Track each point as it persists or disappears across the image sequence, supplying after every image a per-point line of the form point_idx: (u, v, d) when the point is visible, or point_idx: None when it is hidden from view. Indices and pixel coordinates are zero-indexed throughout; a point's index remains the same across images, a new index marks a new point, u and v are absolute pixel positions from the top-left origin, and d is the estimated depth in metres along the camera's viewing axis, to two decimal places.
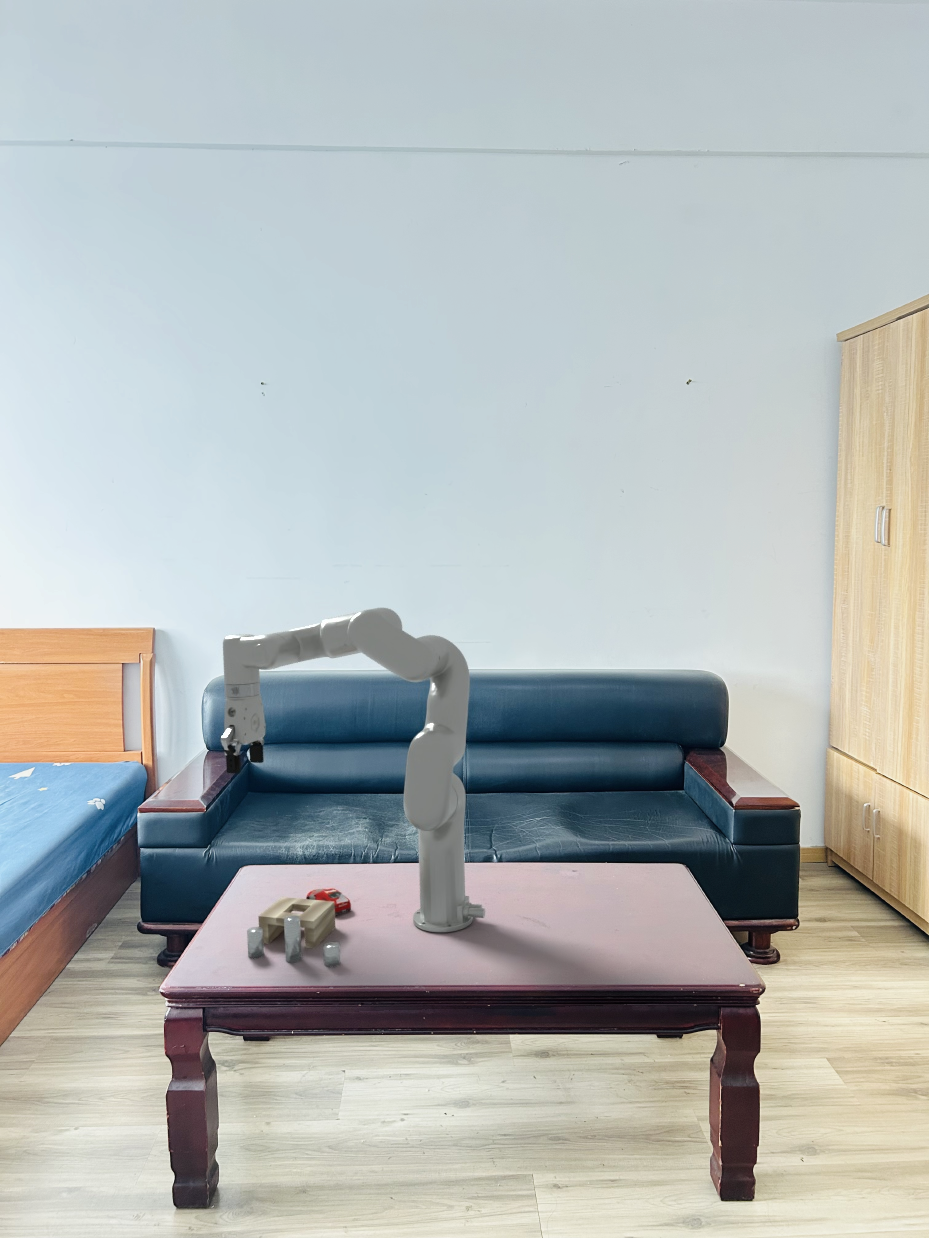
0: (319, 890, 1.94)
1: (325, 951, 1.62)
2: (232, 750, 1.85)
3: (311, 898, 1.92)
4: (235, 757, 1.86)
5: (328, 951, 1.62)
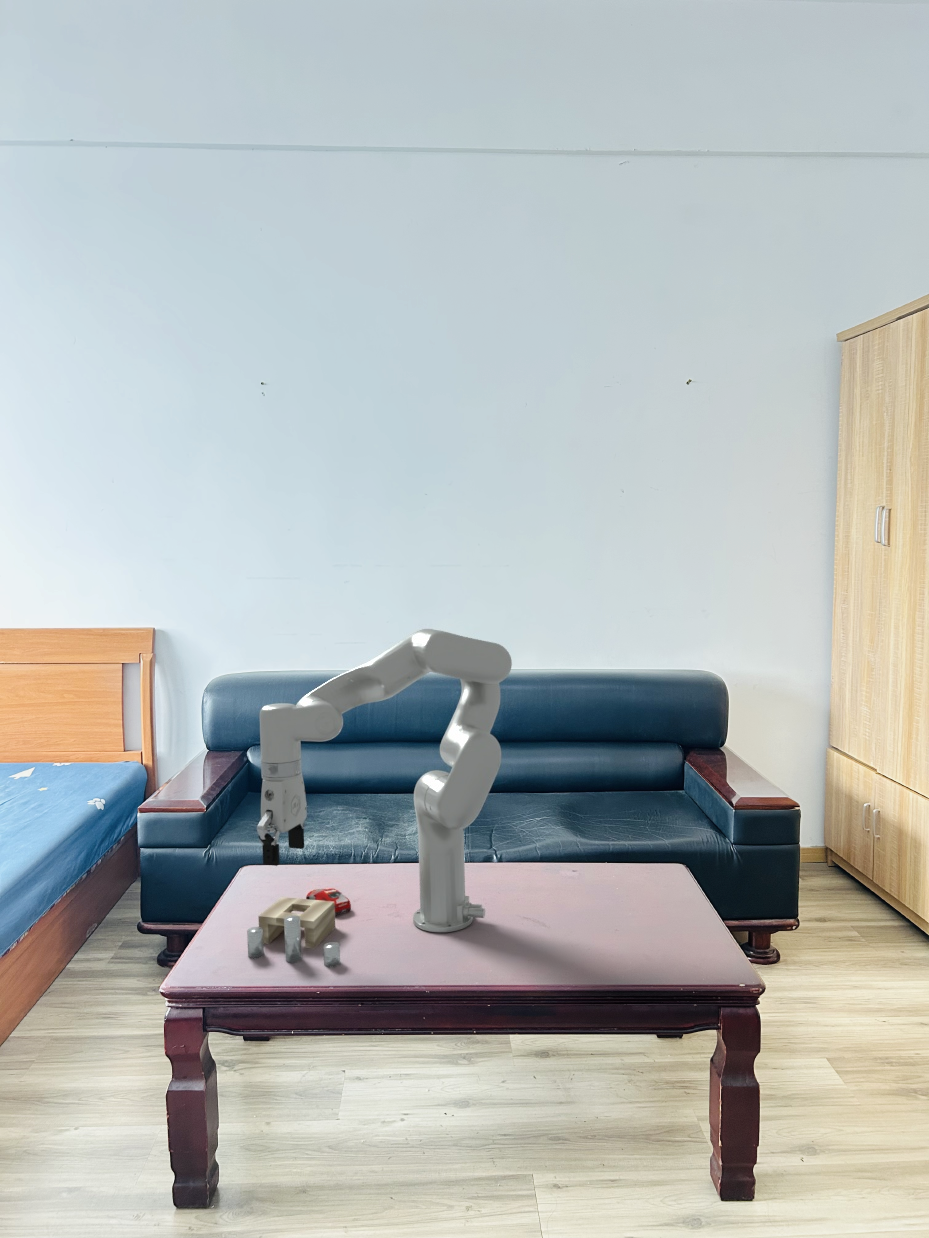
0: (319, 890, 1.94)
1: (325, 951, 1.62)
2: (270, 839, 1.60)
3: (311, 898, 1.92)
4: (273, 847, 1.61)
5: (328, 951, 1.62)
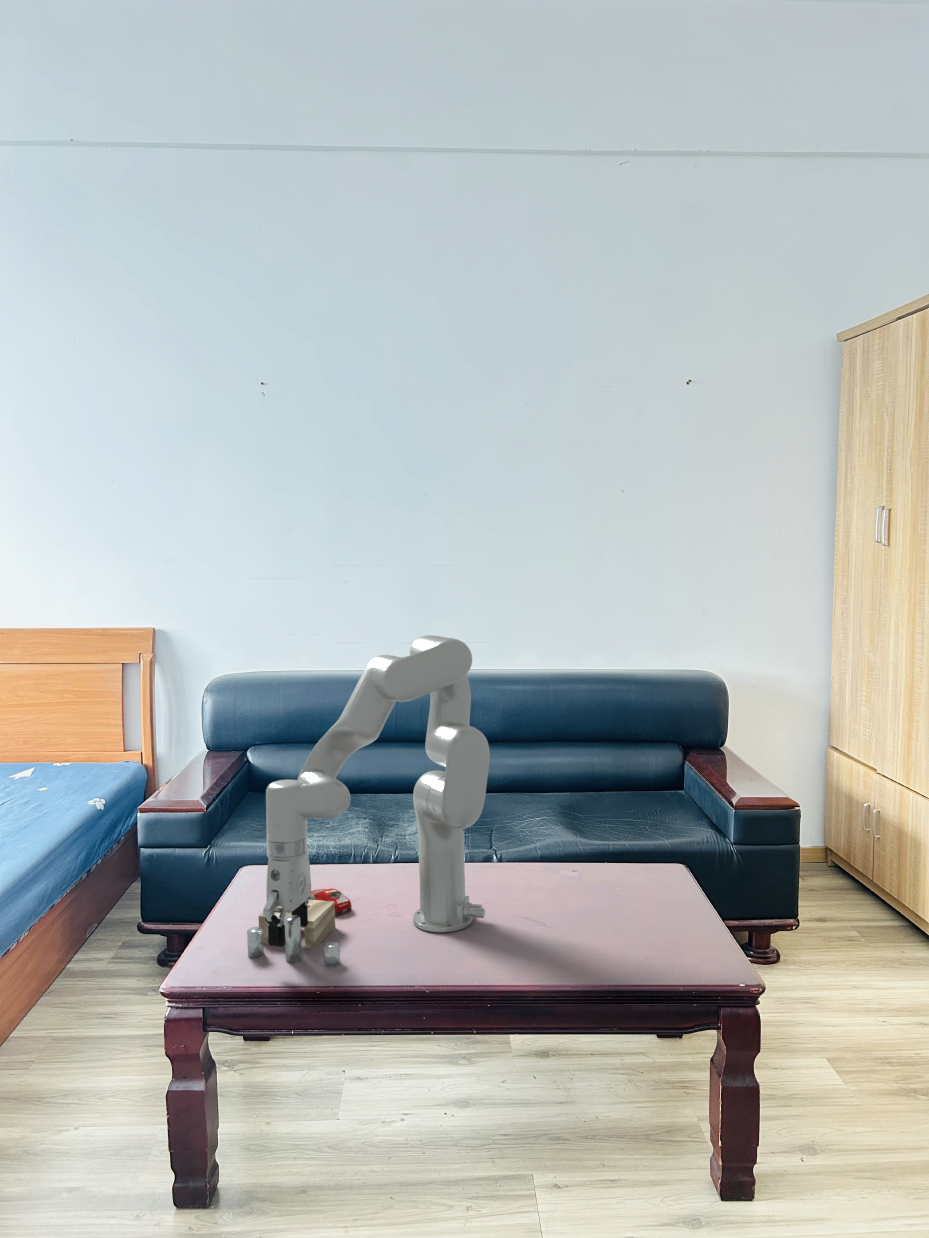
0: (319, 890, 1.94)
1: (325, 951, 1.62)
2: (276, 921, 1.59)
3: (311, 898, 1.92)
4: (279, 928, 1.60)
5: (328, 951, 1.62)
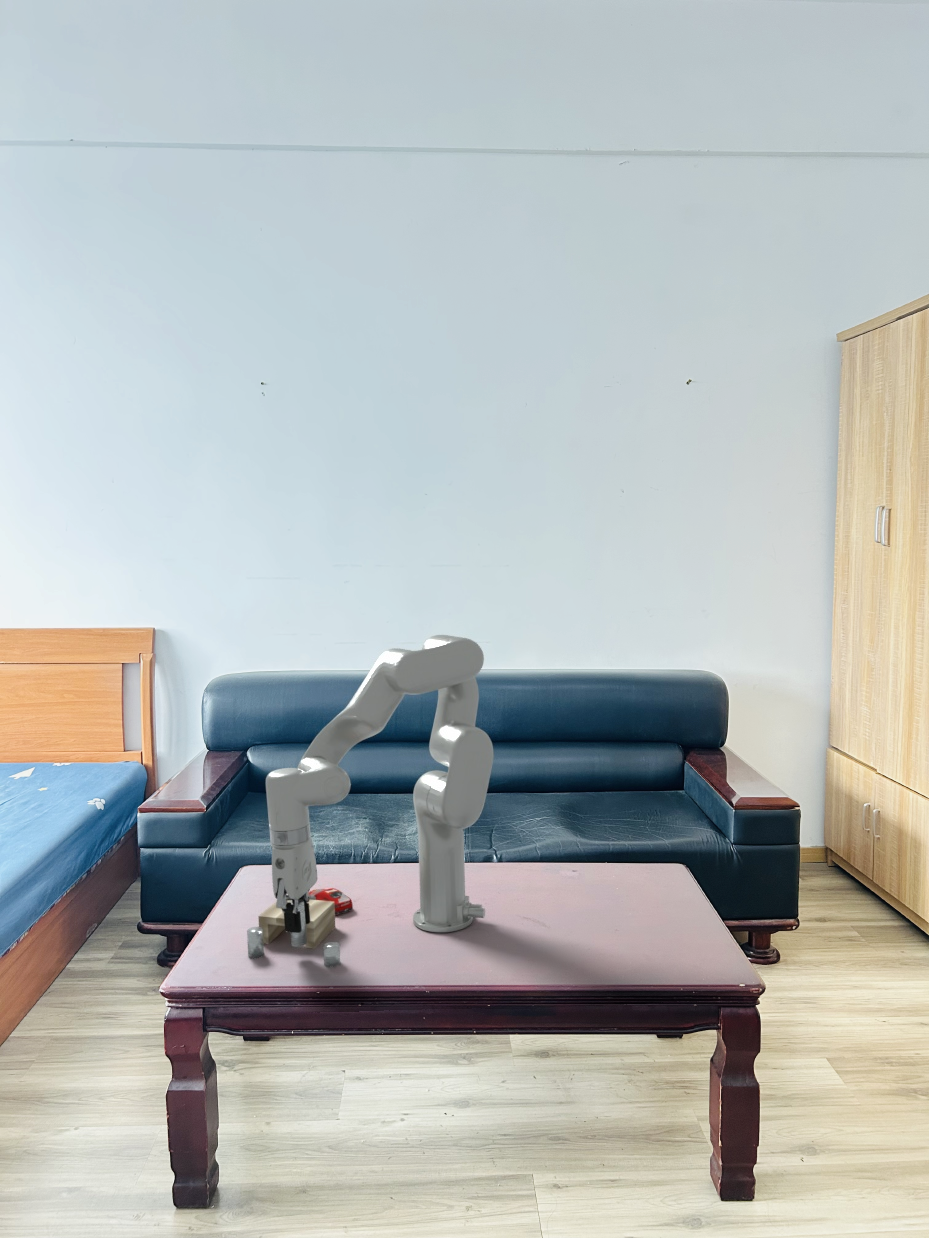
0: (318, 890, 1.94)
1: (325, 951, 1.62)
2: (291, 908, 1.62)
3: (311, 898, 1.91)
4: (294, 915, 1.63)
5: (328, 951, 1.62)
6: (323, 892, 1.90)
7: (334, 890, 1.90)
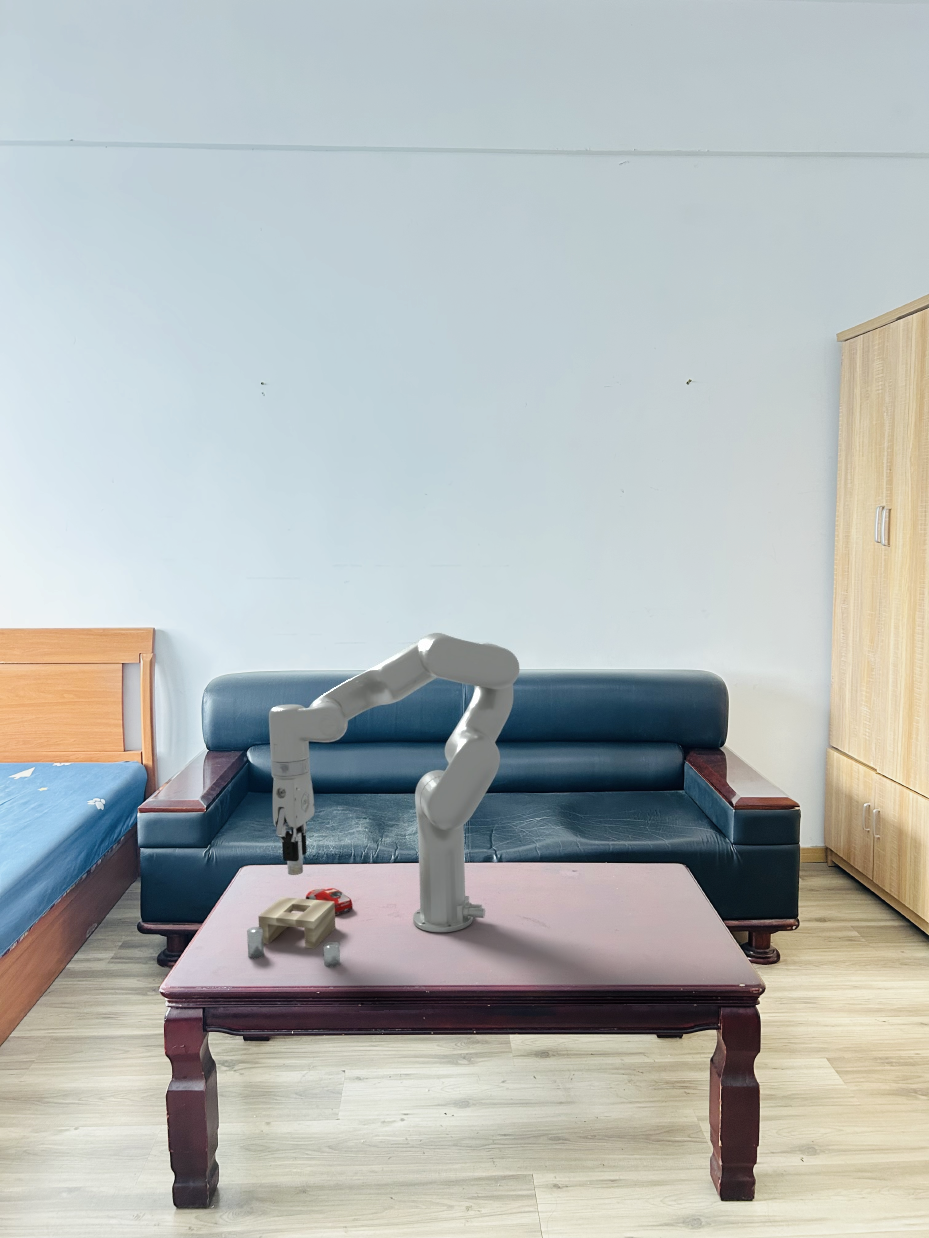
0: (318, 890, 1.94)
1: (325, 951, 1.62)
2: (290, 837, 1.70)
3: (311, 898, 1.91)
4: (292, 844, 1.71)
5: (328, 951, 1.62)
6: (323, 892, 1.90)
7: (334, 890, 1.90)
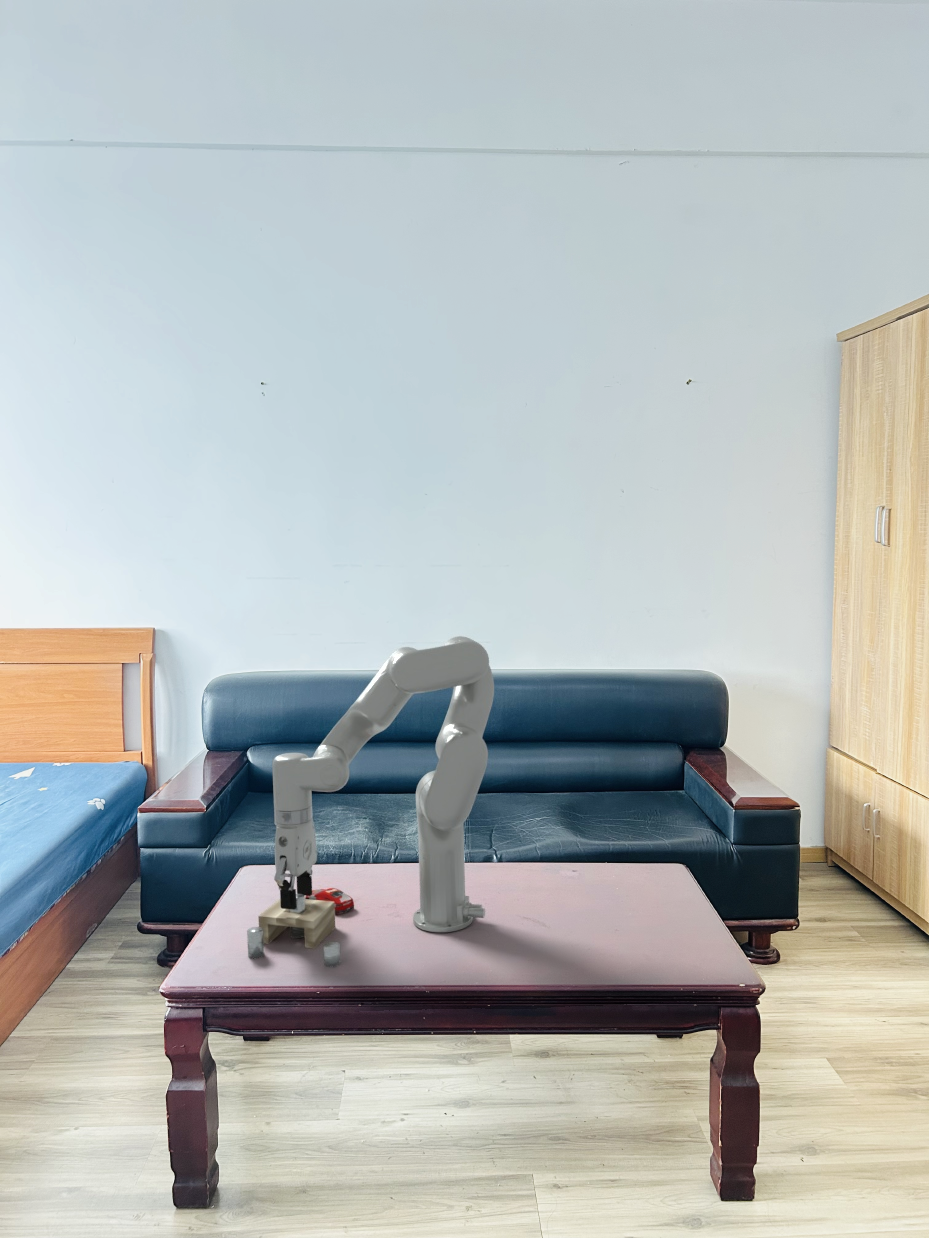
0: (317, 890, 1.94)
1: (325, 951, 1.62)
2: (287, 885, 1.71)
3: (311, 899, 1.91)
4: (290, 892, 1.72)
5: (328, 951, 1.62)
6: (324, 892, 1.90)
7: (334, 890, 1.91)
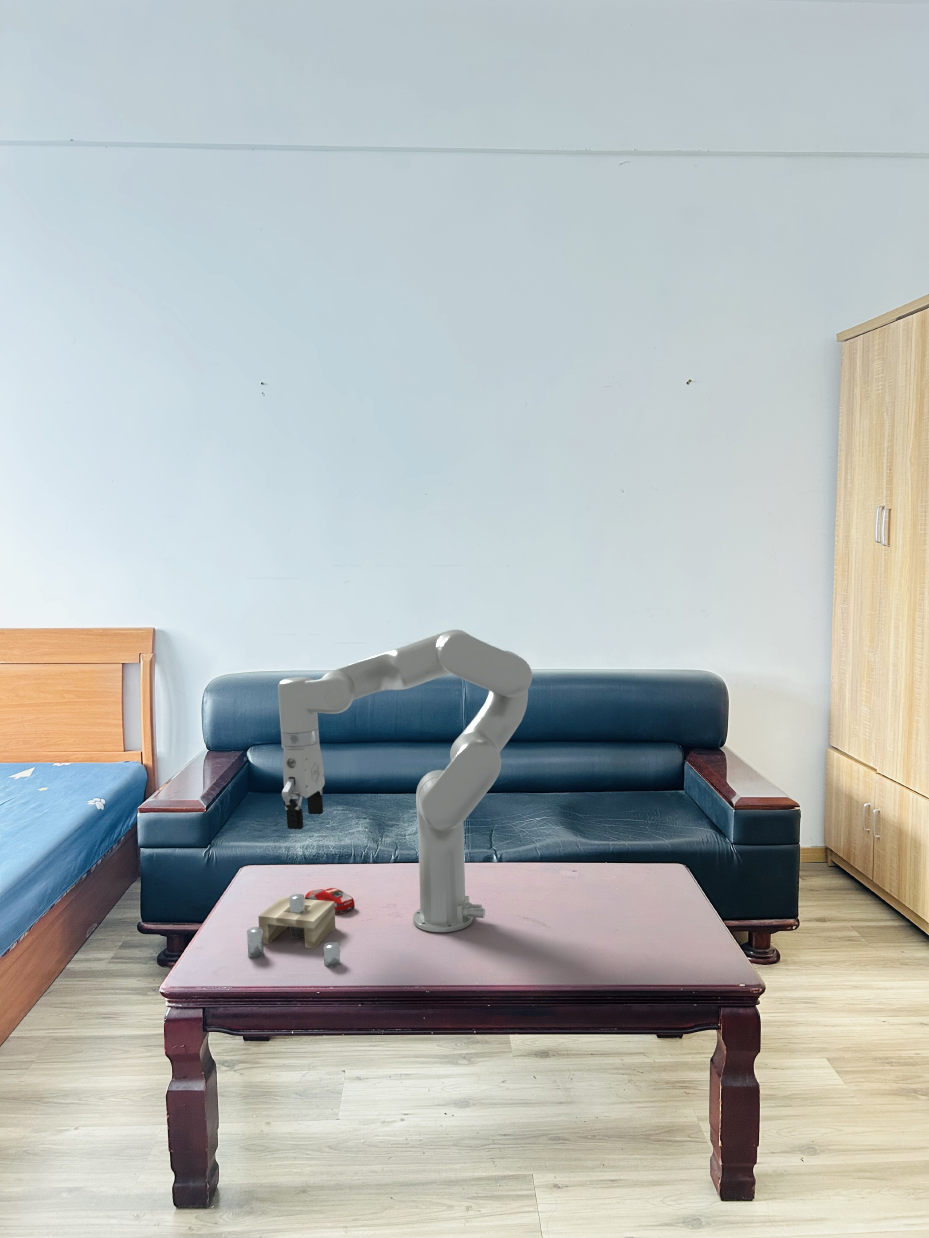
0: (317, 891, 1.94)
1: (325, 951, 1.62)
2: (294, 804, 1.70)
3: (311, 899, 1.91)
4: (297, 812, 1.71)
5: (328, 951, 1.62)
6: (324, 892, 1.90)
7: (334, 889, 1.91)
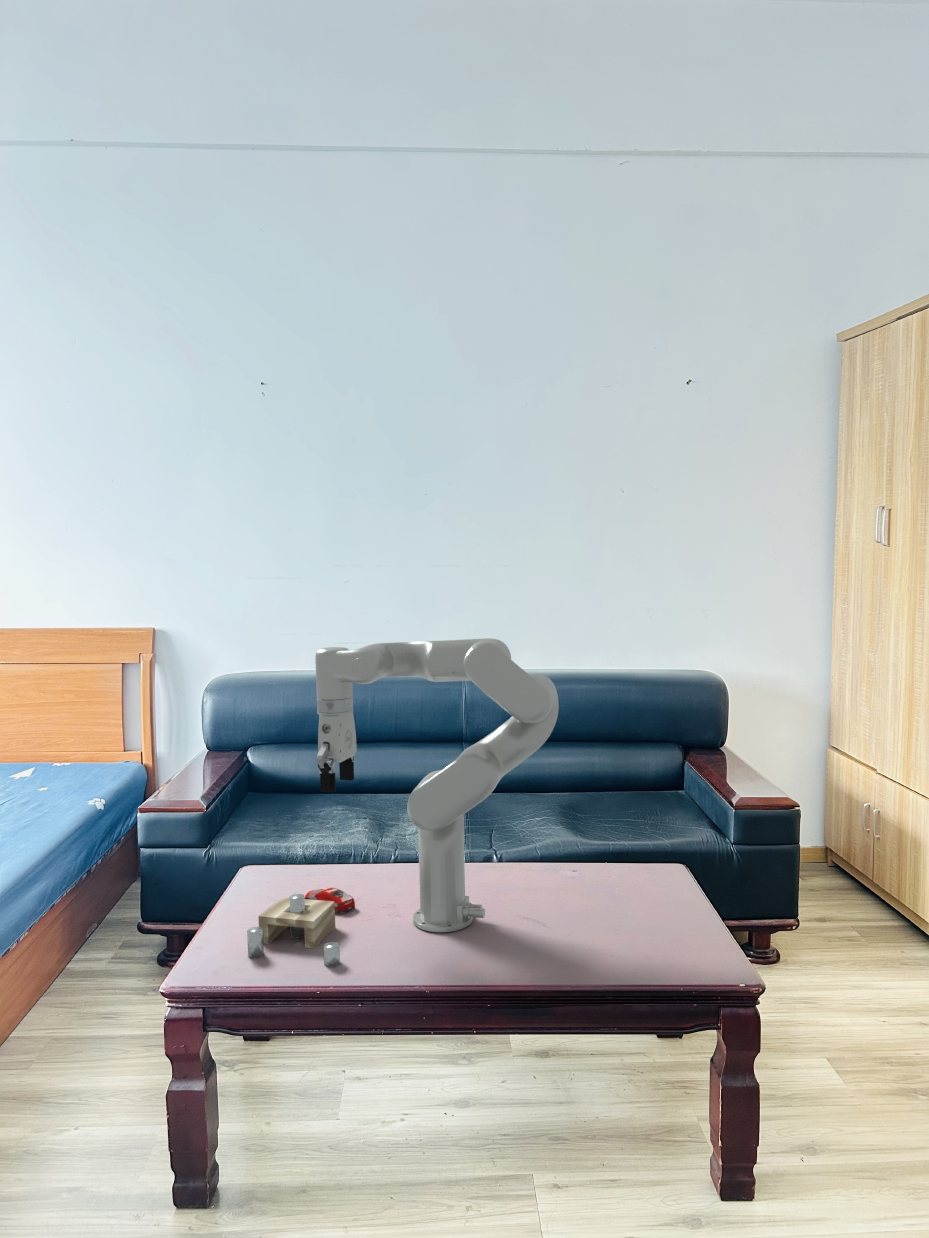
0: (317, 891, 1.94)
1: (325, 951, 1.62)
2: (327, 768, 1.77)
3: (311, 899, 1.91)
4: (330, 775, 1.78)
5: (328, 951, 1.62)
6: (324, 892, 1.90)
7: (334, 889, 1.91)
